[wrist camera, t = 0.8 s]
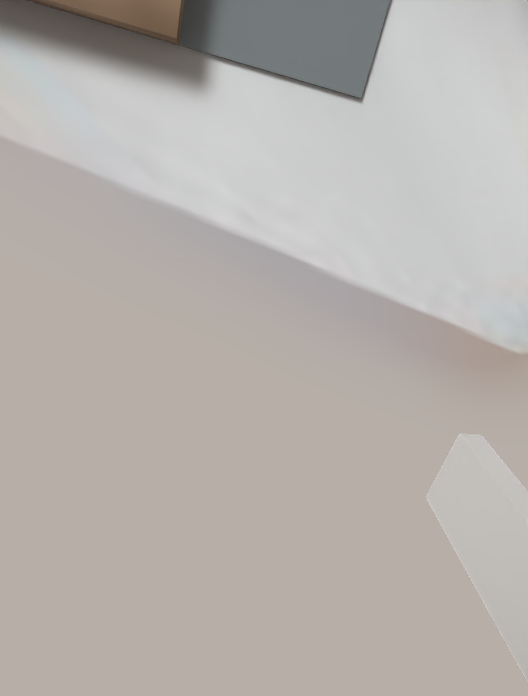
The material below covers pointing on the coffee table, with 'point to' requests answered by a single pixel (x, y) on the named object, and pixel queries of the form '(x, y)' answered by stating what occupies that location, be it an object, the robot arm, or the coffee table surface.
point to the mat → (291, 37)
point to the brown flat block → (129, 14)
